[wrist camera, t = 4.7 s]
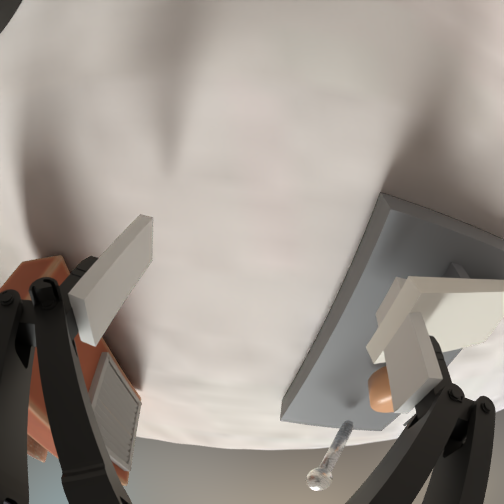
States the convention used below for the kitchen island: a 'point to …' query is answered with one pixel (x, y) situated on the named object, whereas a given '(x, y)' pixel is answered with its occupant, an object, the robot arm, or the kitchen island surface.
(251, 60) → the kitchen island surface
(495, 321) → the rocker switch
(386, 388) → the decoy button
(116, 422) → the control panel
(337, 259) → the kitchen island surface
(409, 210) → the switch panel
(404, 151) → the kitchen island surface
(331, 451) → the toggle lever
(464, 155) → the kitchen island surface
